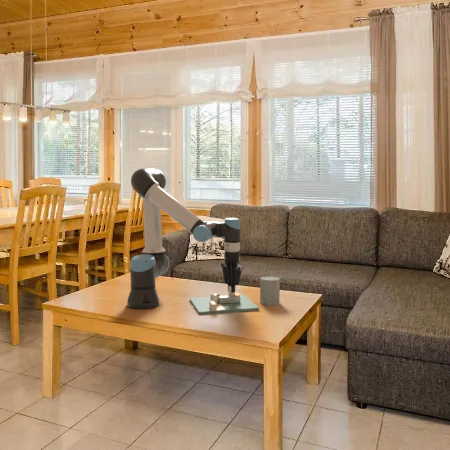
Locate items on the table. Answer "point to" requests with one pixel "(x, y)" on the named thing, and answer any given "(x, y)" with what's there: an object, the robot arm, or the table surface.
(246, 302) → the board
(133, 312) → the table surface
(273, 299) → the speckled grey cylinder
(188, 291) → the table surface
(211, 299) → the bar
